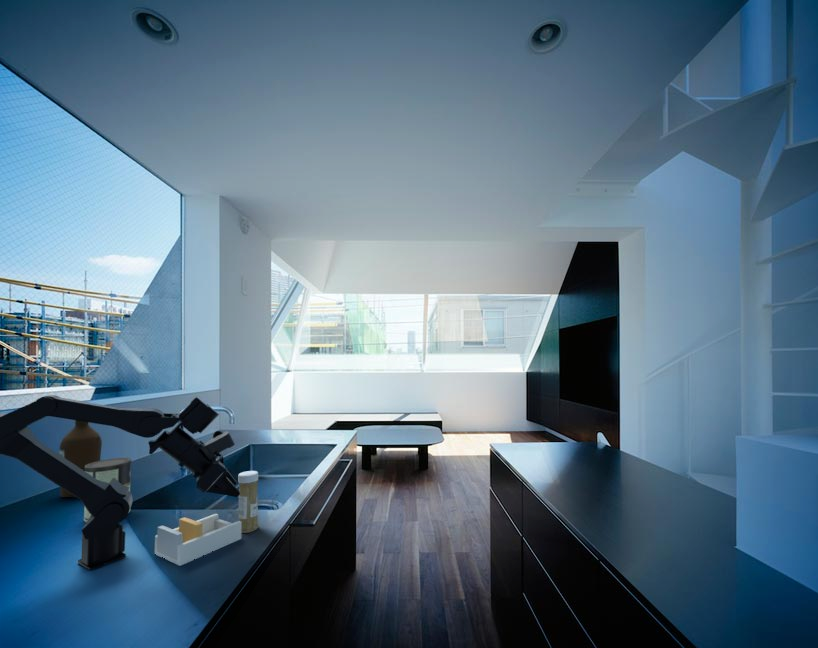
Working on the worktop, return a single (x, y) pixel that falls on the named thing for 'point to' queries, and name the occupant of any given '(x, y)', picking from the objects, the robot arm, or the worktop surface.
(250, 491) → the sprinkles bottle
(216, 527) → the tray
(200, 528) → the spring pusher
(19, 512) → the worktop surface
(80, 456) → the olive oil
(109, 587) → the worktop surface
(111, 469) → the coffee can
